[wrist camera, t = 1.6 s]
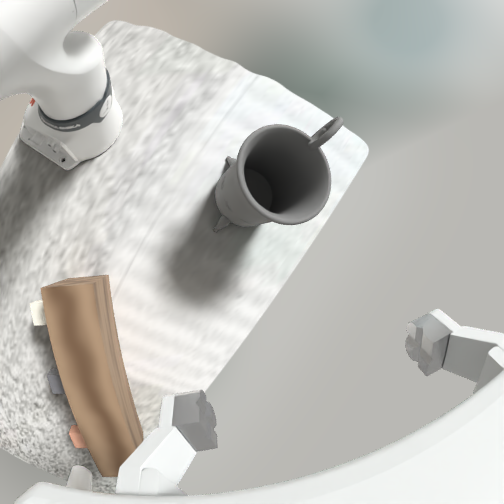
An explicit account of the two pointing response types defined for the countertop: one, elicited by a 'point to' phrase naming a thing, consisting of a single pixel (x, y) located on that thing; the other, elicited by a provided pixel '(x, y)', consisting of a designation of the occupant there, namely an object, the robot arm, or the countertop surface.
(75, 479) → the drinking glass
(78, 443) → the terracotta key
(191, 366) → the countertop surface
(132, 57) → the countertop surface
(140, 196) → the countertop surface
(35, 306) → the cream key
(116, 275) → the countertop surface
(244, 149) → the grey footed pot
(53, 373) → the charcoal key
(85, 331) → the console
